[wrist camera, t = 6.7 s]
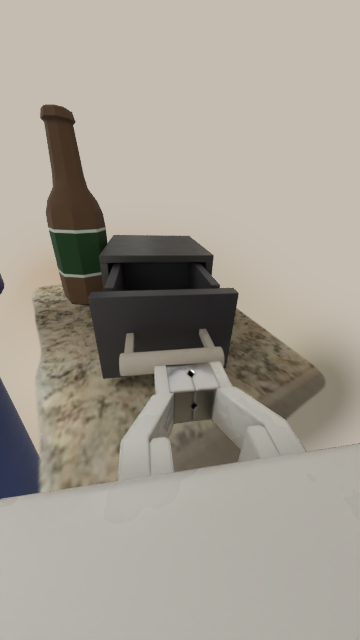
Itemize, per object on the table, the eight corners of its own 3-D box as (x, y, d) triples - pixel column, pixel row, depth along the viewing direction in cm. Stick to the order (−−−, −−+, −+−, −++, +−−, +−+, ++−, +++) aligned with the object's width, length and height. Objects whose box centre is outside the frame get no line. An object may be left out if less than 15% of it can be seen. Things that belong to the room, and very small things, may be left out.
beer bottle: (54, 298, 36) (1, 101, 24) (91, 285, 42) (63, 121, 30) (88, 309, 33) (46, 89, 21) (123, 293, 39) (104, 114, 27)
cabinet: (206, 327, 30) (213, 255, 25) (109, 332, 28) (98, 255, 23) (186, 288, 42) (189, 235, 37) (119, 290, 40) (113, 235, 36)
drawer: (243, 404, 17) (265, 318, 14) (94, 421, 16) (71, 328, 12) (195, 307, 33) (199, 254, 29) (117, 310, 31) (110, 254, 27)
